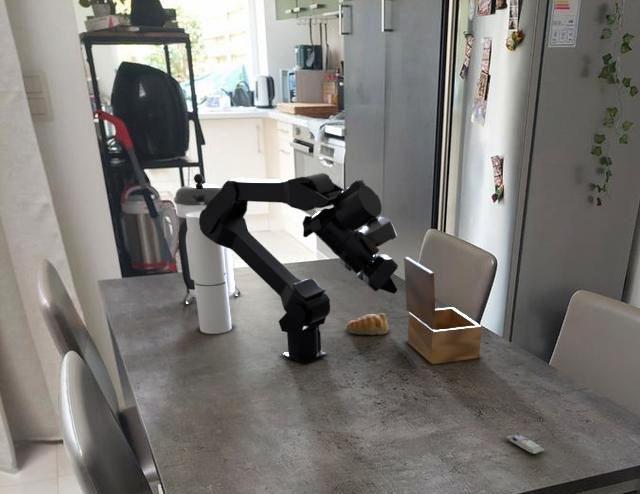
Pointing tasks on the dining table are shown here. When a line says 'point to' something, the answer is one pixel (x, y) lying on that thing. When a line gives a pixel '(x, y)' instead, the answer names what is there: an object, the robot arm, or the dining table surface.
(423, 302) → the lid
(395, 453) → the dining table surface
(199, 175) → the coffee press
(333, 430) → the dining table surface
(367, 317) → the pastry
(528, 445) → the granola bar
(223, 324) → the cylindrical container
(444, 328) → the caddy
